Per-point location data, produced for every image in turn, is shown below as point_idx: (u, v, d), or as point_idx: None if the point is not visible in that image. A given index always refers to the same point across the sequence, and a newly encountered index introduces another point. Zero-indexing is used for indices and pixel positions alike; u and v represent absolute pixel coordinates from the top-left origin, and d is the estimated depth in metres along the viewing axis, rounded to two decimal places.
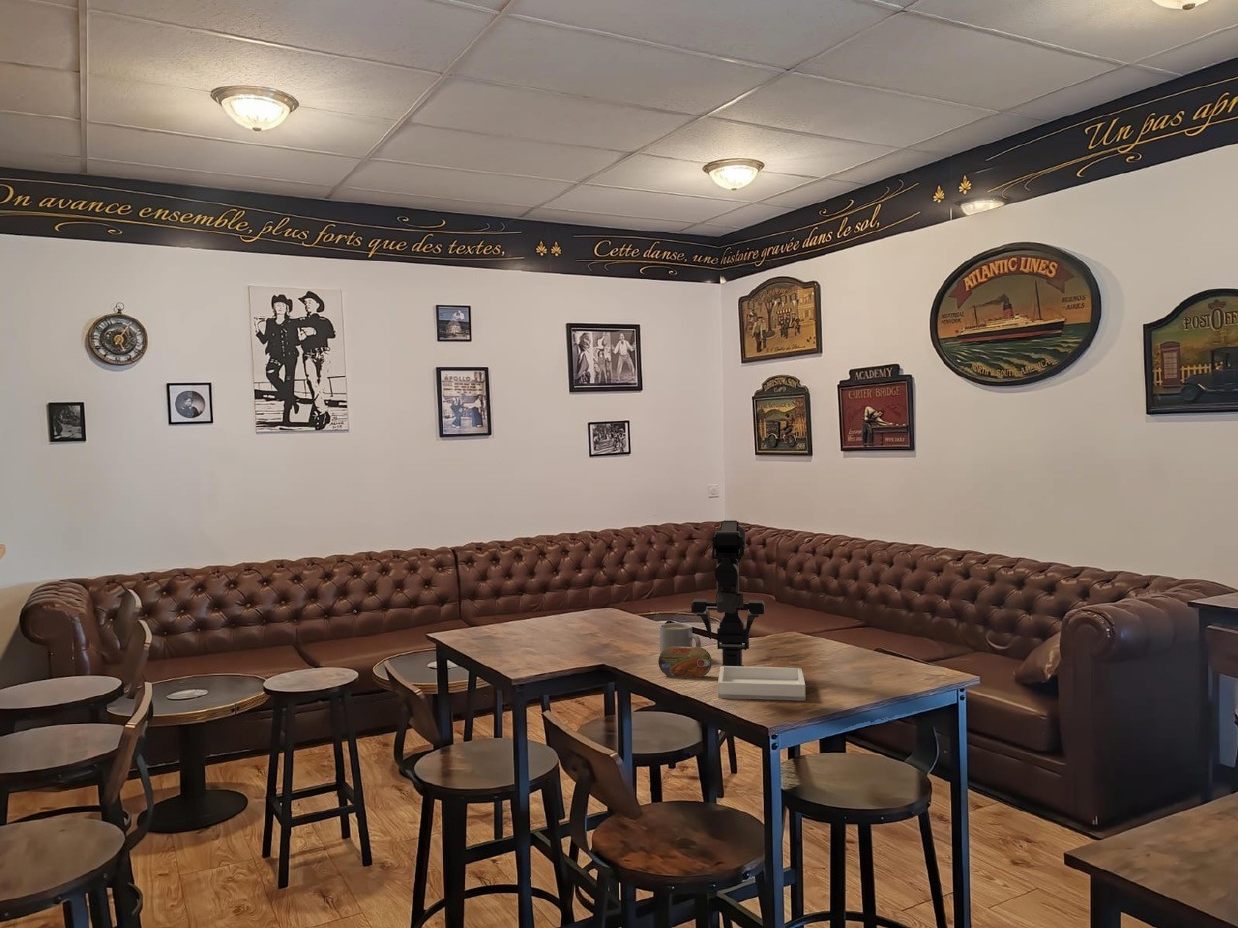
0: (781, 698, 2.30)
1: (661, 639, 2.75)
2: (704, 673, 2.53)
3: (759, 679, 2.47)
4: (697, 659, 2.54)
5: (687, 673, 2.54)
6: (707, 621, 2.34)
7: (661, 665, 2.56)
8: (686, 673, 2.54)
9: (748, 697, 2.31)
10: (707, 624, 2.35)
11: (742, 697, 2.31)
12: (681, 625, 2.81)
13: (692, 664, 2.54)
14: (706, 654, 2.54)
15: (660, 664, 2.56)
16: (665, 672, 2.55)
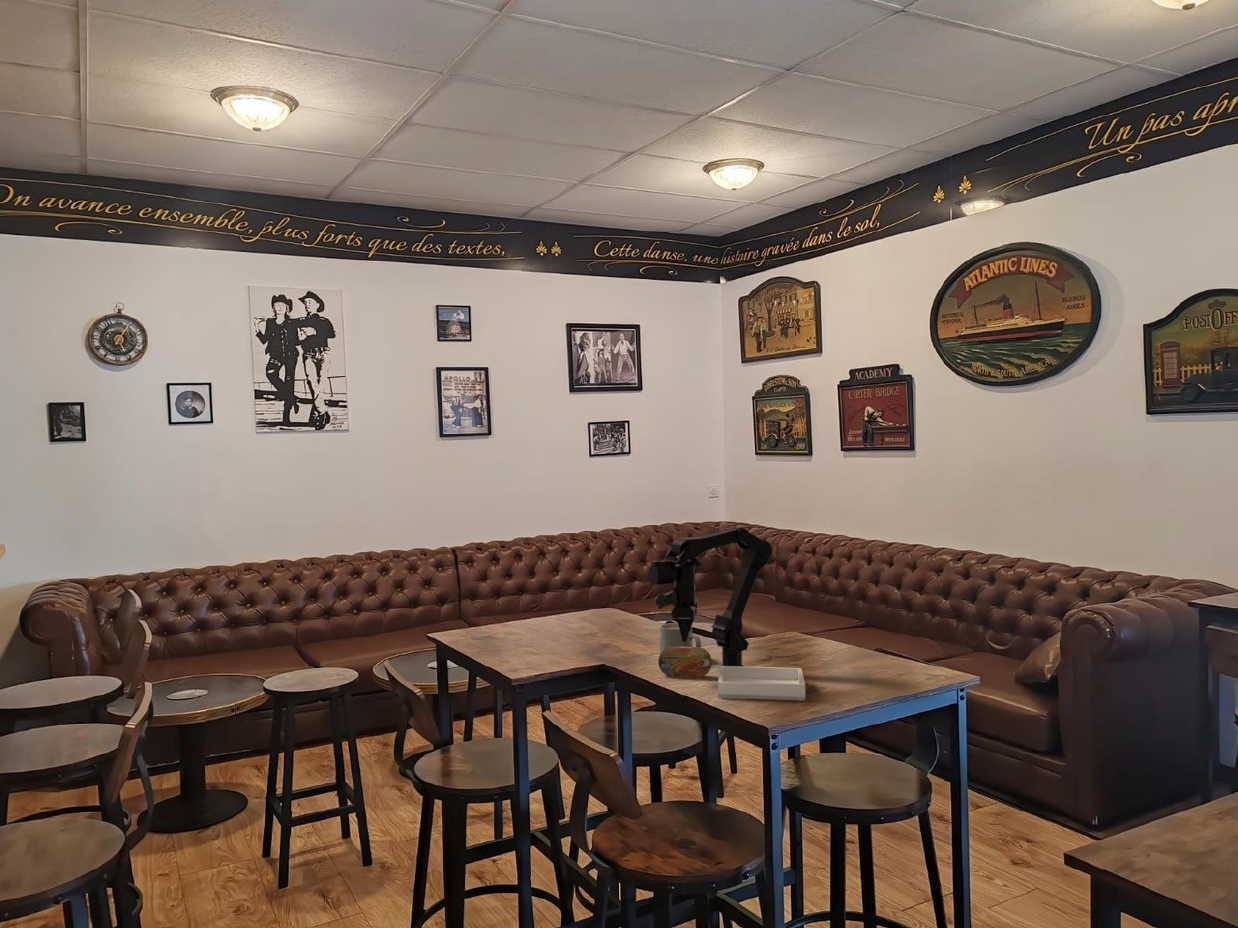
0: (781, 698, 2.30)
1: (661, 639, 2.75)
2: (704, 673, 2.53)
3: (759, 679, 2.47)
4: (697, 659, 2.54)
5: (687, 673, 2.54)
6: None
7: (661, 665, 2.56)
8: (686, 673, 2.54)
9: (748, 697, 2.31)
10: None
11: (742, 697, 2.31)
12: None
13: (692, 664, 2.54)
14: (706, 654, 2.54)
15: (660, 664, 2.56)
16: (665, 672, 2.55)
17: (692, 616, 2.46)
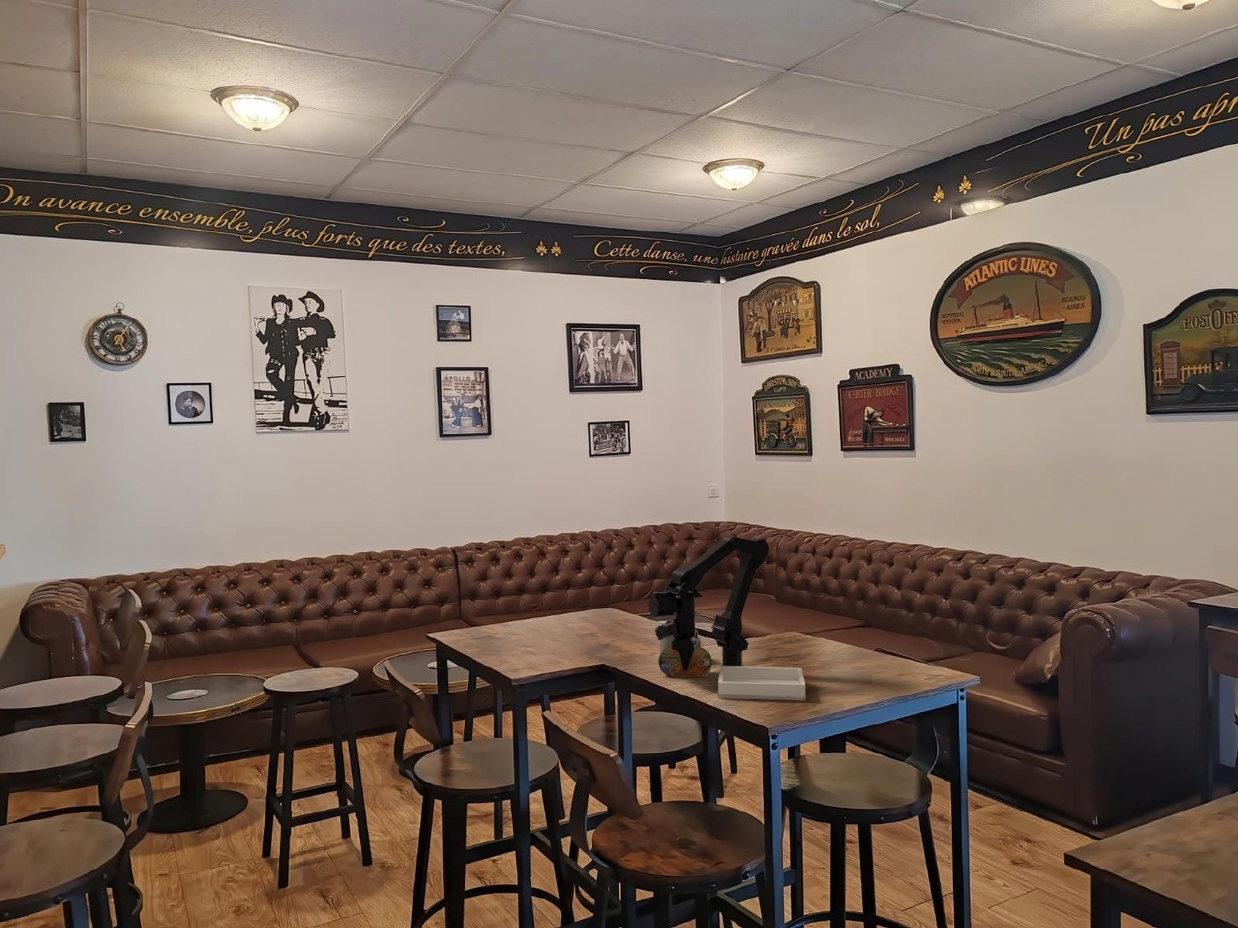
0: (781, 698, 2.30)
1: None
2: (704, 673, 2.53)
3: (759, 679, 2.47)
4: (697, 659, 2.54)
5: (687, 672, 2.54)
6: None
7: (661, 664, 2.56)
8: (686, 673, 2.54)
9: (748, 697, 2.31)
10: None
11: (742, 697, 2.31)
12: None
13: (692, 663, 2.54)
14: (706, 654, 2.54)
15: (660, 664, 2.56)
16: (665, 672, 2.55)
17: (692, 648, 2.46)
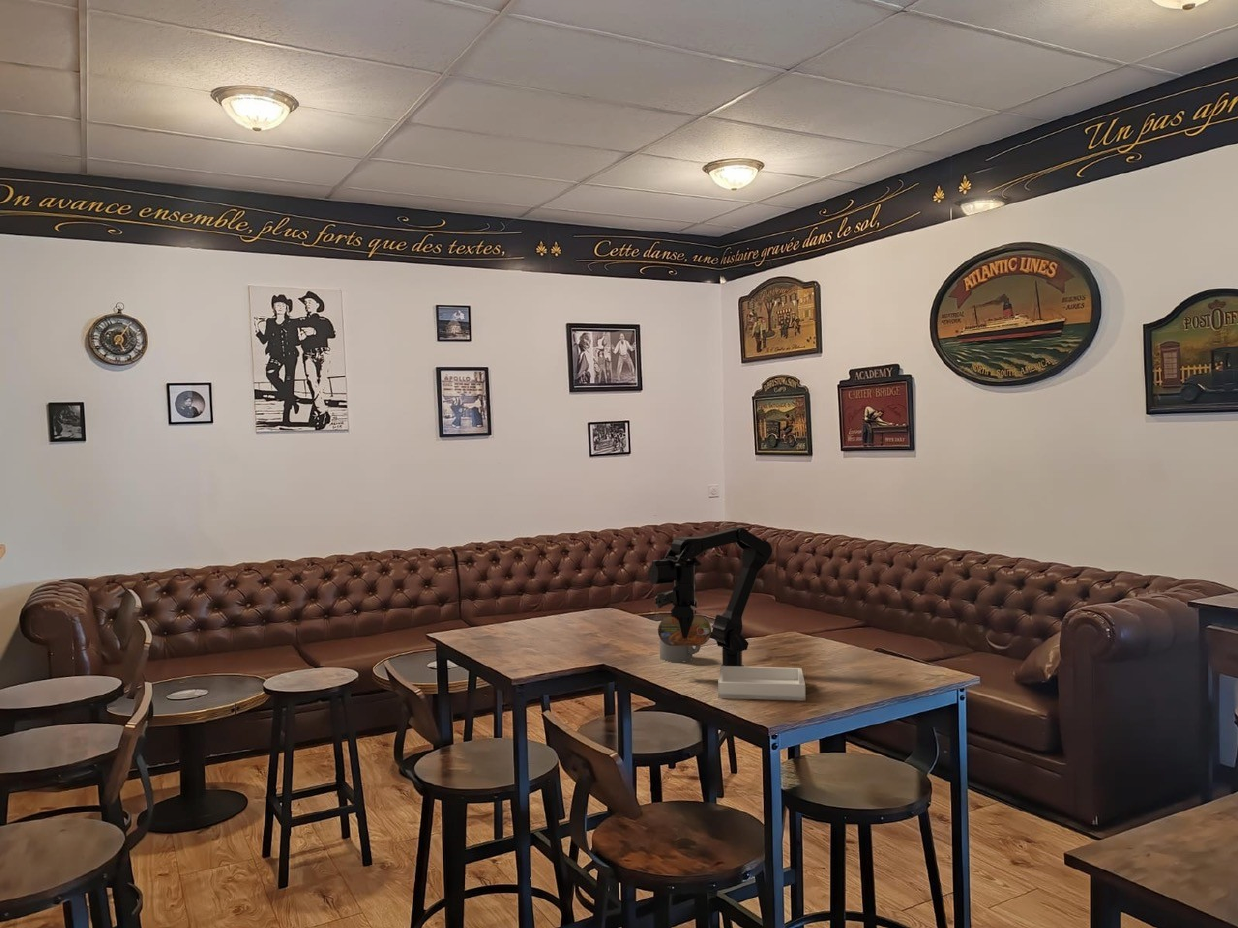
0: (781, 698, 2.30)
1: None
2: (704, 641, 2.53)
3: (759, 679, 2.47)
4: (696, 628, 2.54)
5: (686, 641, 2.54)
6: None
7: (660, 634, 2.55)
8: (686, 642, 2.54)
9: (748, 697, 2.31)
10: None
11: (742, 697, 2.31)
12: None
13: (691, 632, 2.54)
14: (706, 622, 2.54)
15: (660, 633, 2.55)
16: (665, 641, 2.55)
17: (692, 615, 2.46)
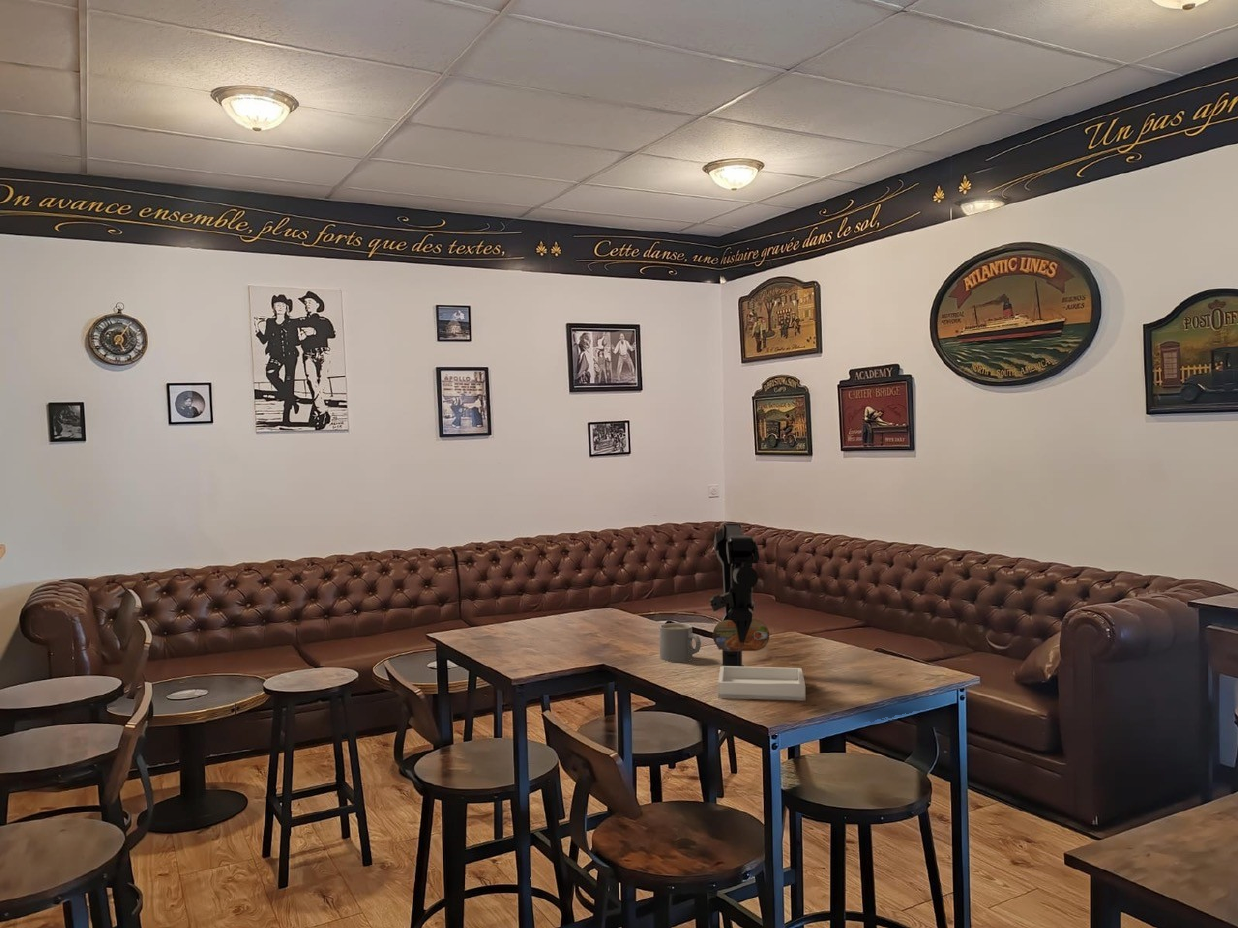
0: (781, 698, 2.30)
1: (661, 639, 2.75)
2: (762, 646, 2.41)
3: (759, 679, 2.47)
4: (754, 632, 2.41)
5: (743, 646, 2.42)
6: None
7: (715, 639, 2.43)
8: (742, 647, 2.42)
9: (748, 697, 2.31)
10: None
11: (742, 697, 2.31)
12: (681, 625, 2.81)
13: (748, 637, 2.42)
14: (763, 626, 2.41)
15: (715, 638, 2.43)
16: (720, 646, 2.43)
17: (750, 618, 2.33)
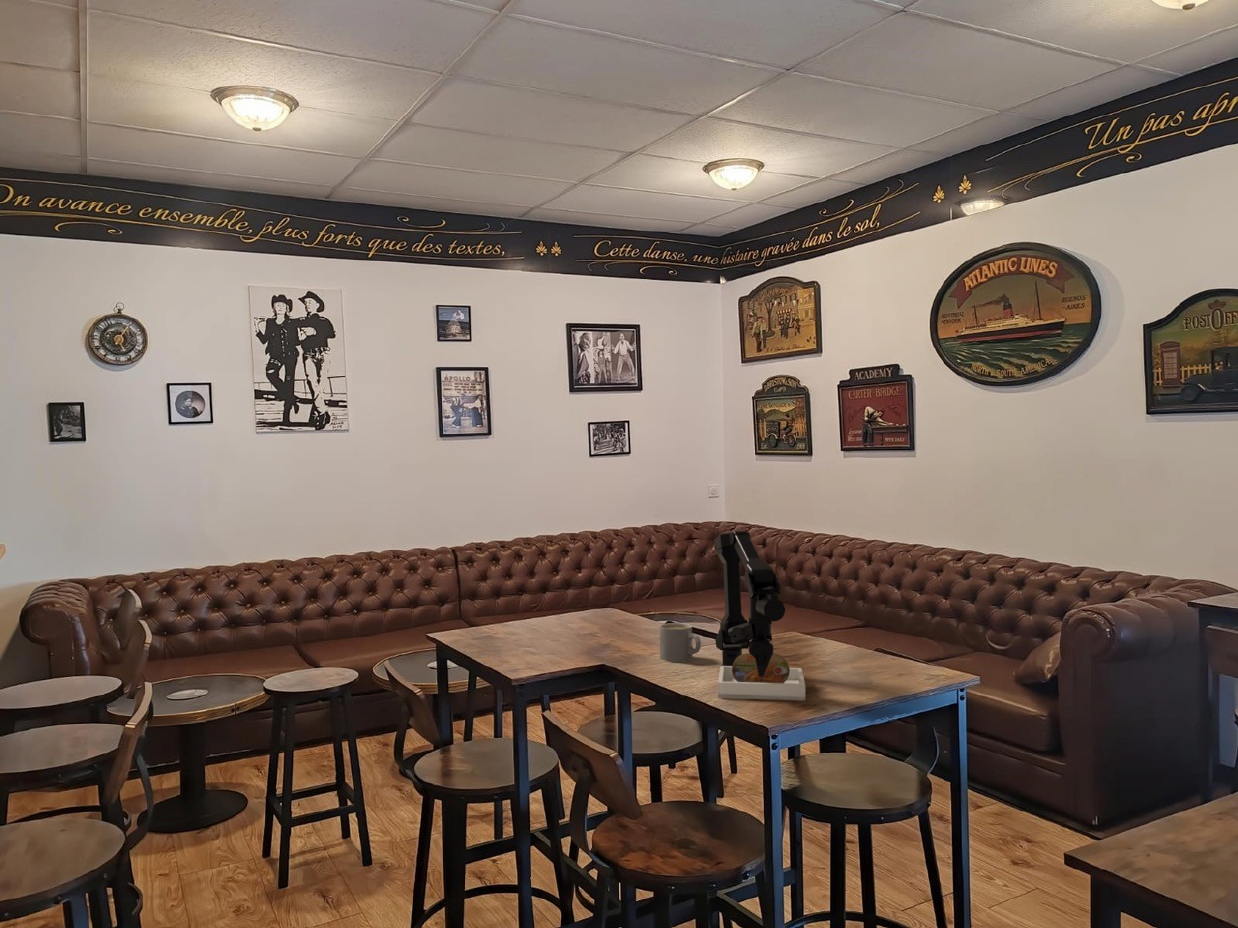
0: (781, 698, 2.30)
1: (661, 639, 2.75)
2: (781, 681, 2.38)
3: None
4: (774, 667, 2.38)
5: (762, 681, 2.39)
6: None
7: (735, 673, 2.40)
8: (762, 681, 2.39)
9: (748, 697, 2.31)
10: None
11: (742, 697, 2.31)
12: (681, 625, 2.81)
13: (768, 672, 2.39)
14: (783, 661, 2.38)
15: (734, 672, 2.40)
16: (739, 681, 2.39)
17: (771, 651, 2.30)
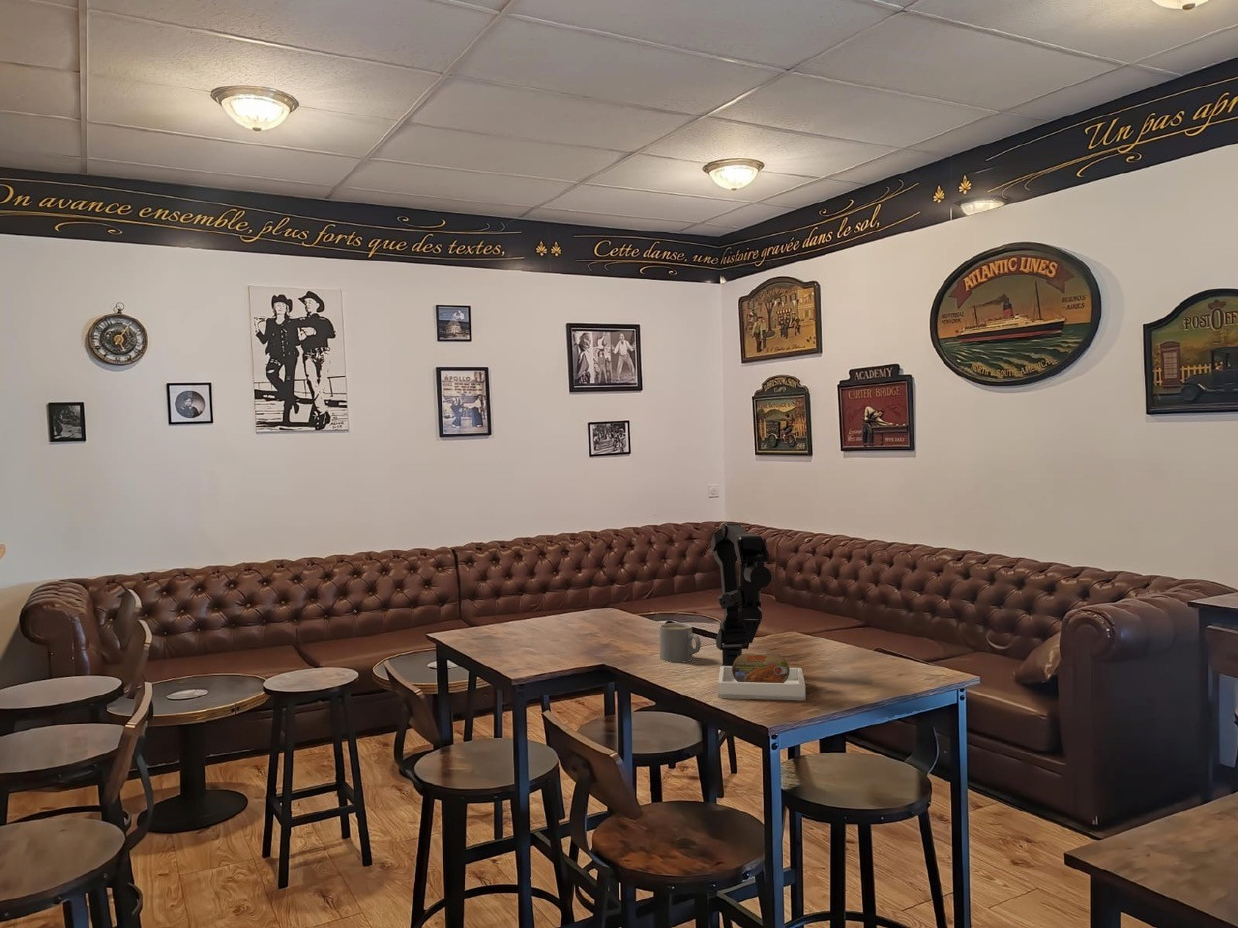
0: (781, 698, 2.30)
1: (661, 639, 2.75)
2: (781, 681, 2.38)
3: None
4: (774, 667, 2.38)
5: (762, 681, 2.39)
6: None
7: (735, 673, 2.40)
8: (762, 681, 2.39)
9: (748, 697, 2.31)
10: None
11: (742, 697, 2.31)
12: (681, 625, 2.81)
13: (768, 672, 2.39)
14: (783, 661, 2.38)
15: (734, 672, 2.40)
16: (739, 681, 2.39)
17: (760, 617, 2.35)
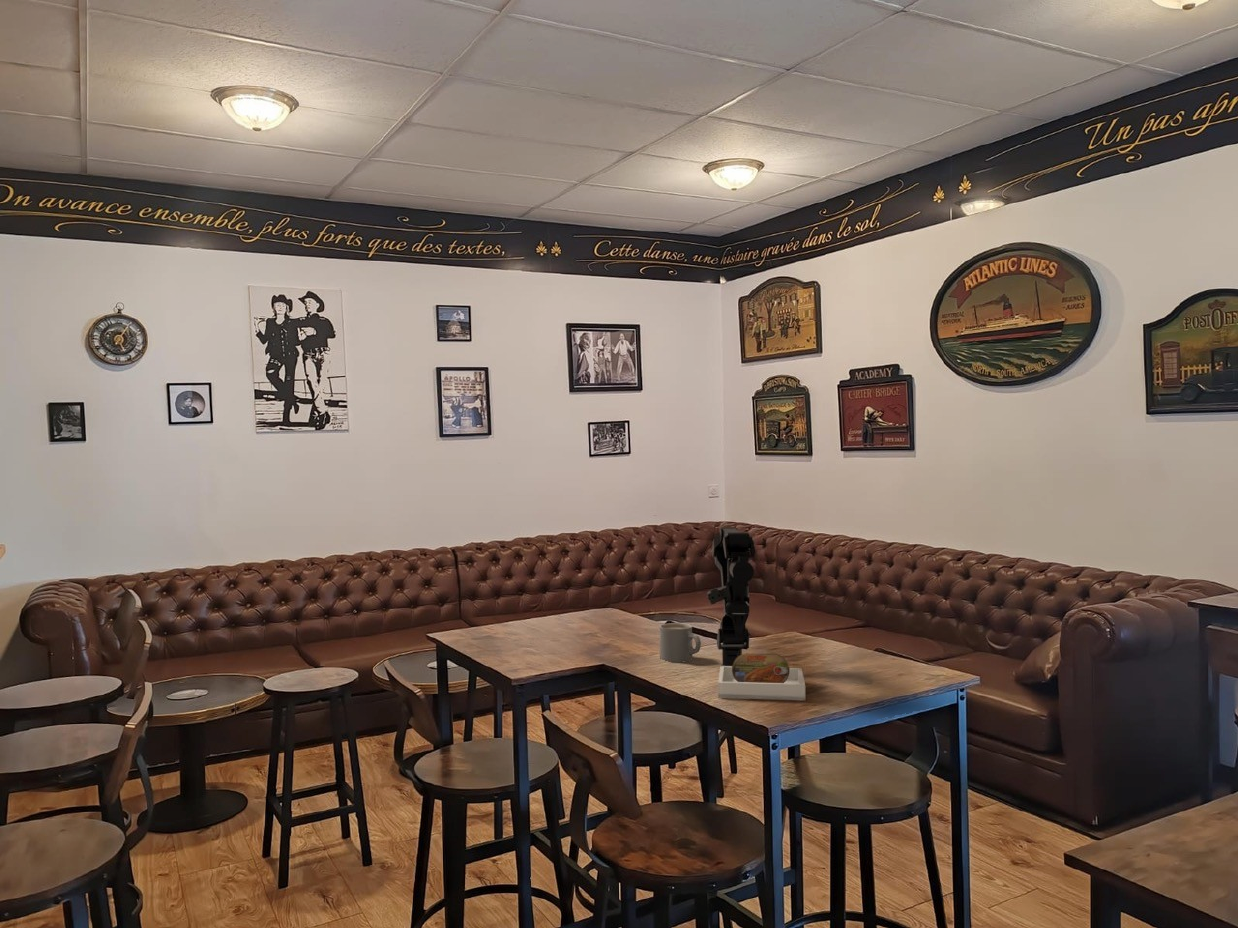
0: (781, 698, 2.30)
1: (661, 639, 2.75)
2: (781, 681, 2.38)
3: None
4: (774, 667, 2.38)
5: (762, 681, 2.39)
6: None
7: (735, 673, 2.40)
8: (762, 681, 2.39)
9: (748, 697, 2.31)
10: None
11: (742, 697, 2.31)
12: (681, 625, 2.81)
13: (768, 672, 2.39)
14: (783, 661, 2.38)
15: (734, 672, 2.40)
16: (739, 681, 2.39)
17: (747, 611, 2.40)
